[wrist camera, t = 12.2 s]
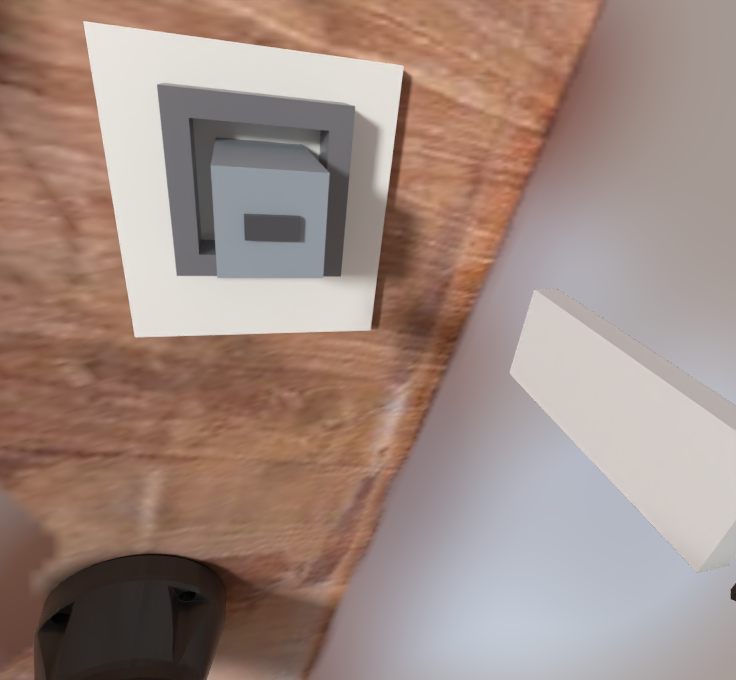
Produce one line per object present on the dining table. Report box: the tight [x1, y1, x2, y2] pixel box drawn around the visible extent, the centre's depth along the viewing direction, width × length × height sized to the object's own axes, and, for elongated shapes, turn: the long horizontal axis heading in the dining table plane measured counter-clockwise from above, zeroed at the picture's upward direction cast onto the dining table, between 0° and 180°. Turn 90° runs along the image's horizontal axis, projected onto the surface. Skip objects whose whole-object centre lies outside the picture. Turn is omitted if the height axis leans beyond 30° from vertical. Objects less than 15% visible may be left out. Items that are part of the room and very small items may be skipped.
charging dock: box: [83, 21, 404, 337], centre depth 25 cm, size 16×15×4 cm
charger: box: [211, 137, 330, 278], centre depth 22 cm, size 4×4×8 cm
